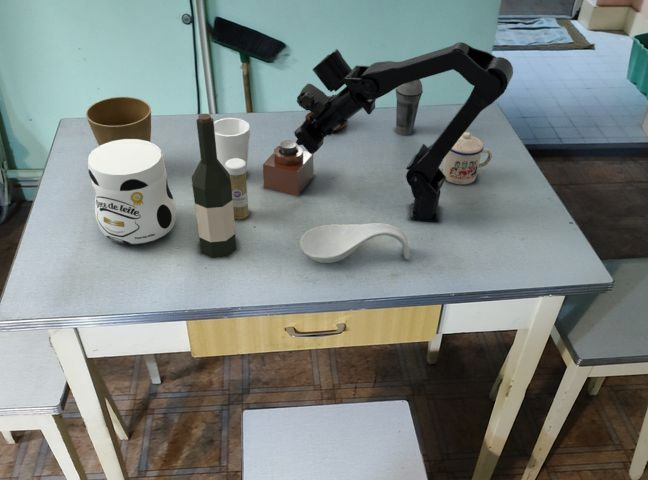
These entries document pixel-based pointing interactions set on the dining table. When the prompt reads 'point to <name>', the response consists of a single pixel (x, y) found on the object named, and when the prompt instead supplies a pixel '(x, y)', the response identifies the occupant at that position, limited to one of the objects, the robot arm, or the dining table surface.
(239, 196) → the sprinkles bottle
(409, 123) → the beverage cup
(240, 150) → the foam cup
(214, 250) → the wine bottle
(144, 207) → the milk container
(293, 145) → the dark grey short cylinder
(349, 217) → the dining table surface
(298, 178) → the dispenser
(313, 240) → the spoon rest
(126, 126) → the plant pot
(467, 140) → the teacup with lid
